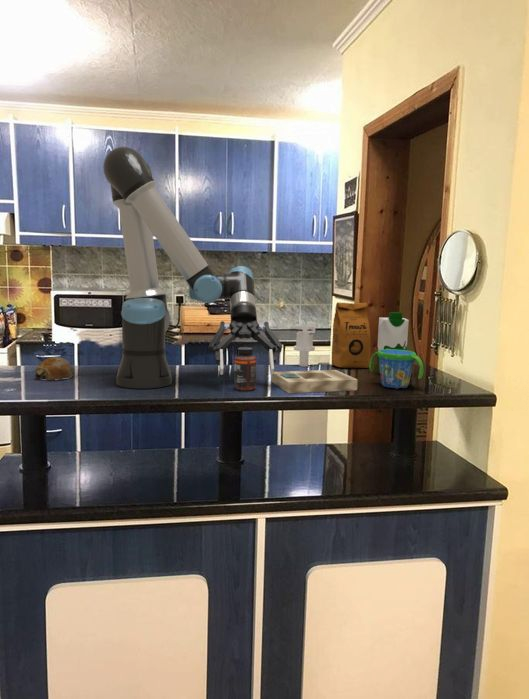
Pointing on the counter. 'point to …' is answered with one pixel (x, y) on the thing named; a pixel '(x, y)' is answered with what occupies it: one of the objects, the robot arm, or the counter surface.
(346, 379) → the birch socket block
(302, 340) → the pale grey stepped figure
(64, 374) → the bread roll
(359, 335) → the coffee package
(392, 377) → the snack cup
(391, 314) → the milk carton
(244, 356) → the supplement bottle
